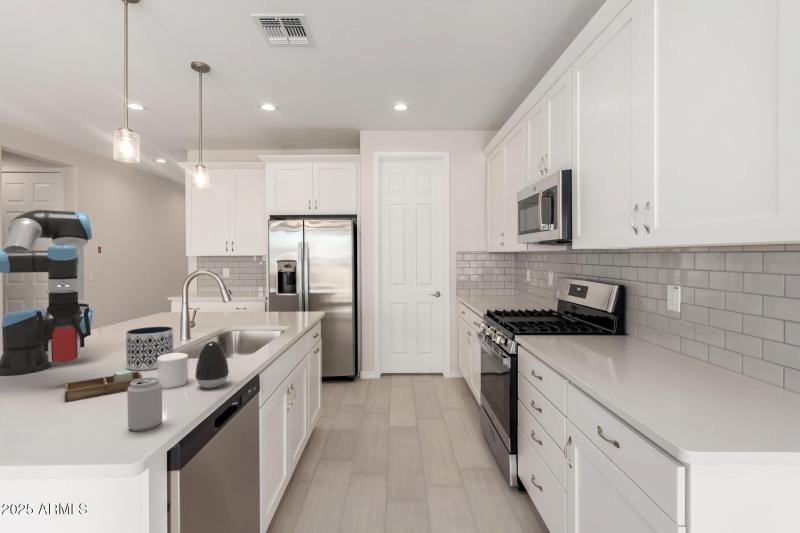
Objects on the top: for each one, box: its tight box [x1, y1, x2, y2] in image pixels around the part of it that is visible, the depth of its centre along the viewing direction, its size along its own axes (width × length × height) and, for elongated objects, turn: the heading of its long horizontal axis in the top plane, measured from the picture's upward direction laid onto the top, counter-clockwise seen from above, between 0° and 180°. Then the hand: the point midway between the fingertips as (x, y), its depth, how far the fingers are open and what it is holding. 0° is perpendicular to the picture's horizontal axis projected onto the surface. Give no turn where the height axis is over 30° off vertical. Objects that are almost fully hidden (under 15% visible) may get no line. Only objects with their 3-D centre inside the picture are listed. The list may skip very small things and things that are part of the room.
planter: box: [125, 326, 174, 372], centre depth 155 cm, size 16×16×14 cm
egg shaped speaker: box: [194, 340, 230, 389], centre depth 130 cm, size 10×10×15 cm
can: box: [126, 376, 163, 432], centre depth 99 cm, size 8×8×12 cm
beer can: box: [50, 324, 78, 363], centre depth 130 cm, size 7×7×12 cm
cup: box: [156, 352, 189, 389], centre depth 132 cm, size 10×10×10 cm
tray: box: [64, 371, 144, 403], centre depth 126 cm, size 10×20×3 cm, turn 131°
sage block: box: [113, 369, 133, 383], centre depth 129 cm, size 4×4×4 cm
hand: (64, 358), depth 130 cm, fingers closed on beer can, 7 cm apart
